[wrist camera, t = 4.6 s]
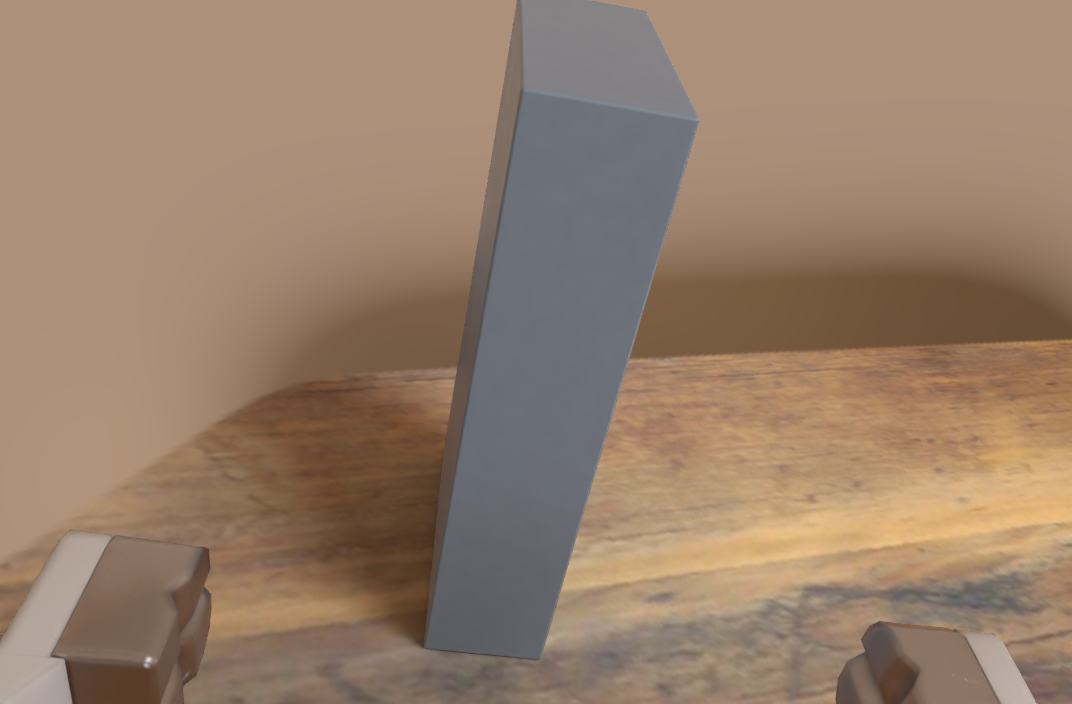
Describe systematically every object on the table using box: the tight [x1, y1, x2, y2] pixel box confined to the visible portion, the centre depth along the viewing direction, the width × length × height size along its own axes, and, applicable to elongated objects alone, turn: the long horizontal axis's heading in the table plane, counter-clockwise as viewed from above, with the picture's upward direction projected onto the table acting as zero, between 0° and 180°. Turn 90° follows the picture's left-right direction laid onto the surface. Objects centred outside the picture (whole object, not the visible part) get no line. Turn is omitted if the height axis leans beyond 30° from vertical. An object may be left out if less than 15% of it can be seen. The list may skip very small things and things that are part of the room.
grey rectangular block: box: [424, 0, 699, 659], centre depth 18 cm, size 2×6×12 cm, turn 1°
